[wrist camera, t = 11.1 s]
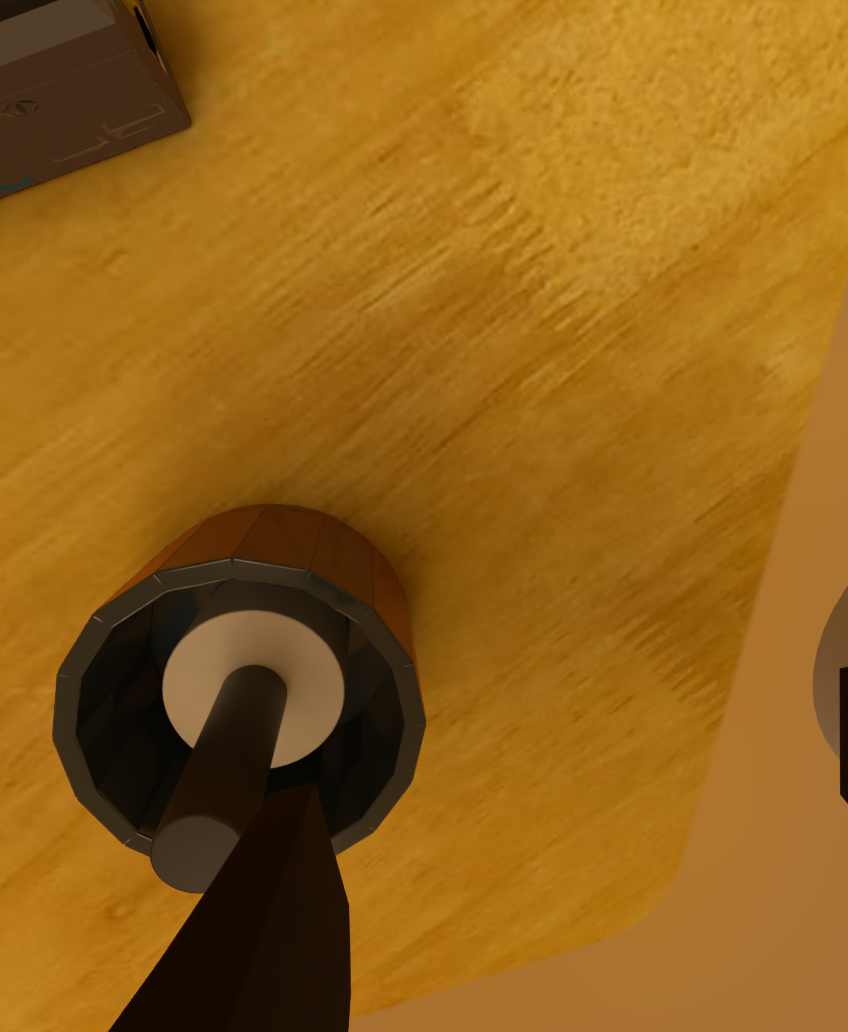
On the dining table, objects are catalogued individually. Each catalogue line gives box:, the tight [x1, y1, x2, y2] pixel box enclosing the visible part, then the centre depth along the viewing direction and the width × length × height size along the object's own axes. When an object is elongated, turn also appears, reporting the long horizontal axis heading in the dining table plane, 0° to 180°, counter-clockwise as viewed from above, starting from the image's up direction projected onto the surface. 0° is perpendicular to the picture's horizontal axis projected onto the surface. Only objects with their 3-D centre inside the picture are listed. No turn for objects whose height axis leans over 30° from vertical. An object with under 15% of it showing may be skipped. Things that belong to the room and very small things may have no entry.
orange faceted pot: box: [52, 504, 426, 857], centre depth 16 cm, size 8×8×5 cm
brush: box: [150, 579, 349, 894], centre depth 14 cm, size 4×4×8 cm
